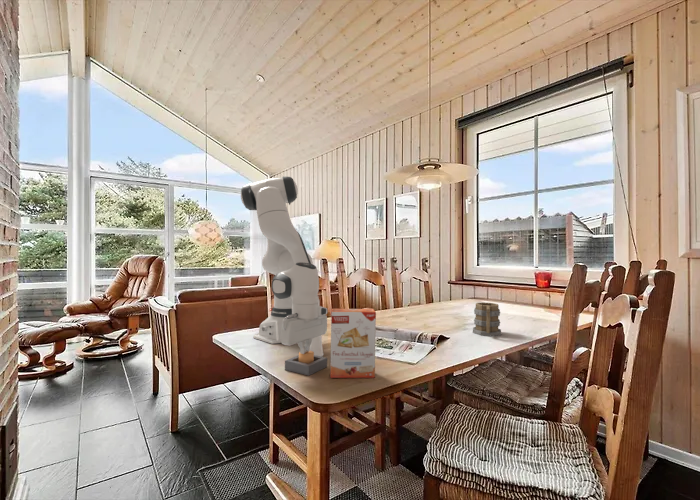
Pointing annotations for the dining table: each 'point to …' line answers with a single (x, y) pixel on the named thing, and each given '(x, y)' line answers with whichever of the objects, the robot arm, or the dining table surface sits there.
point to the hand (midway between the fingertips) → (304, 352)
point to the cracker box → (353, 343)
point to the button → (306, 357)
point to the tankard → (487, 319)
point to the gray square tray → (305, 365)
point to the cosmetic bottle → (317, 344)
